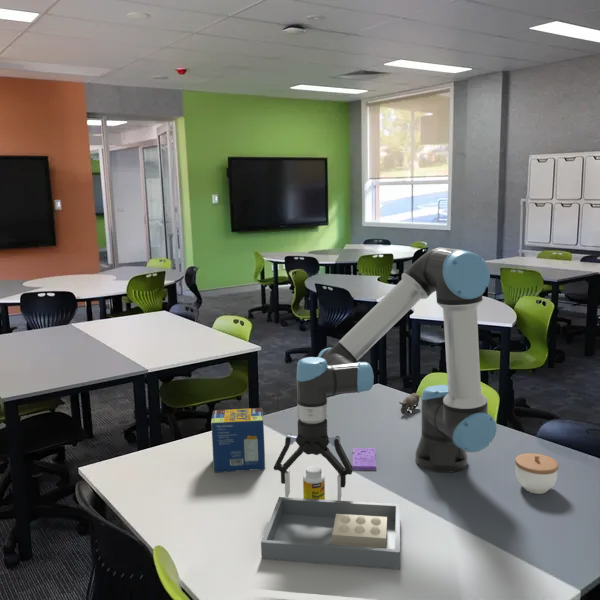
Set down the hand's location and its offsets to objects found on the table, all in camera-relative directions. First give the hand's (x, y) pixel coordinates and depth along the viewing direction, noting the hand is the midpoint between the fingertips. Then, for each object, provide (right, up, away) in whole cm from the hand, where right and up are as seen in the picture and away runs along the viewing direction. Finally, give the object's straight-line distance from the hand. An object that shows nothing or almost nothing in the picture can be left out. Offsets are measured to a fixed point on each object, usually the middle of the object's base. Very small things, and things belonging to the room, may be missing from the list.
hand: (313, 496), depth 156 cm
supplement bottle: (0, -3, +1) cm, 3 cm away
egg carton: (+10, -4, -17) cm, 21 cm away
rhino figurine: (+36, +10, +65) cm, 75 cm away
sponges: (+16, +2, +26) cm, 30 cm away
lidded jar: (+60, 0, +6) cm, 60 cm away
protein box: (-22, +1, +26) cm, 34 cm away
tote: (+5, -5, -16) cm, 18 cm away
